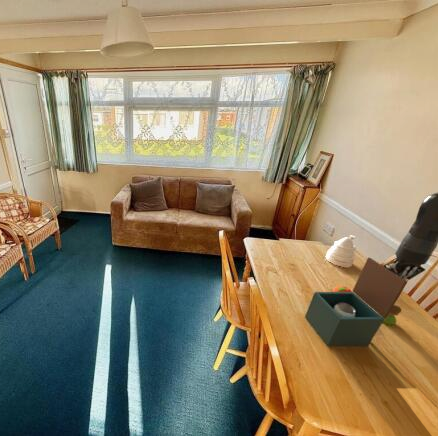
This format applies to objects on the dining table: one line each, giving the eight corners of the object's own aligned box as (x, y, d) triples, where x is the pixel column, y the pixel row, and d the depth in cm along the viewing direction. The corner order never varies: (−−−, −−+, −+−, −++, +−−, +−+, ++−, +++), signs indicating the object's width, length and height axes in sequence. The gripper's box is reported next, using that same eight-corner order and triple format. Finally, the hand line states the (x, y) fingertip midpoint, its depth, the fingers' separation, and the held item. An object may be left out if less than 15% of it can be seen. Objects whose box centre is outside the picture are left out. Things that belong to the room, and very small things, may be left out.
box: (327, 346, 88) (340, 319, 82) (304, 316, 101) (314, 291, 95) (368, 346, 88) (384, 319, 82) (340, 317, 101) (352, 291, 95)
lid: (405, 281, 75) (407, 281, 75) (368, 257, 88) (370, 257, 88) (383, 318, 82) (386, 318, 82) (352, 291, 95) (354, 291, 95)
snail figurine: (370, 315, 102) (382, 295, 97) (389, 320, 99) (402, 300, 94) (375, 324, 98) (387, 303, 93) (395, 330, 95) (409, 309, 90)
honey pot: (344, 257, 144) (355, 232, 136) (356, 269, 132) (368, 242, 125) (321, 254, 146) (330, 229, 139) (331, 266, 135) (342, 240, 128)
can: (349, 337, 91) (361, 315, 86) (331, 334, 92) (341, 312, 87) (339, 323, 97) (350, 302, 92) (322, 321, 98) (332, 300, 93)
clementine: (338, 305, 108) (344, 293, 105) (326, 294, 114) (330, 283, 111) (353, 303, 109) (359, 291, 106) (339, 292, 115) (345, 281, 112)
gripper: (408, 253, 74) (384, 293, 82) (448, 253, 74) (421, 294, 82) (386, 241, 81) (366, 279, 89) (423, 242, 81) (400, 280, 89)
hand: (392, 286), depth 85 cm, fingers closed
